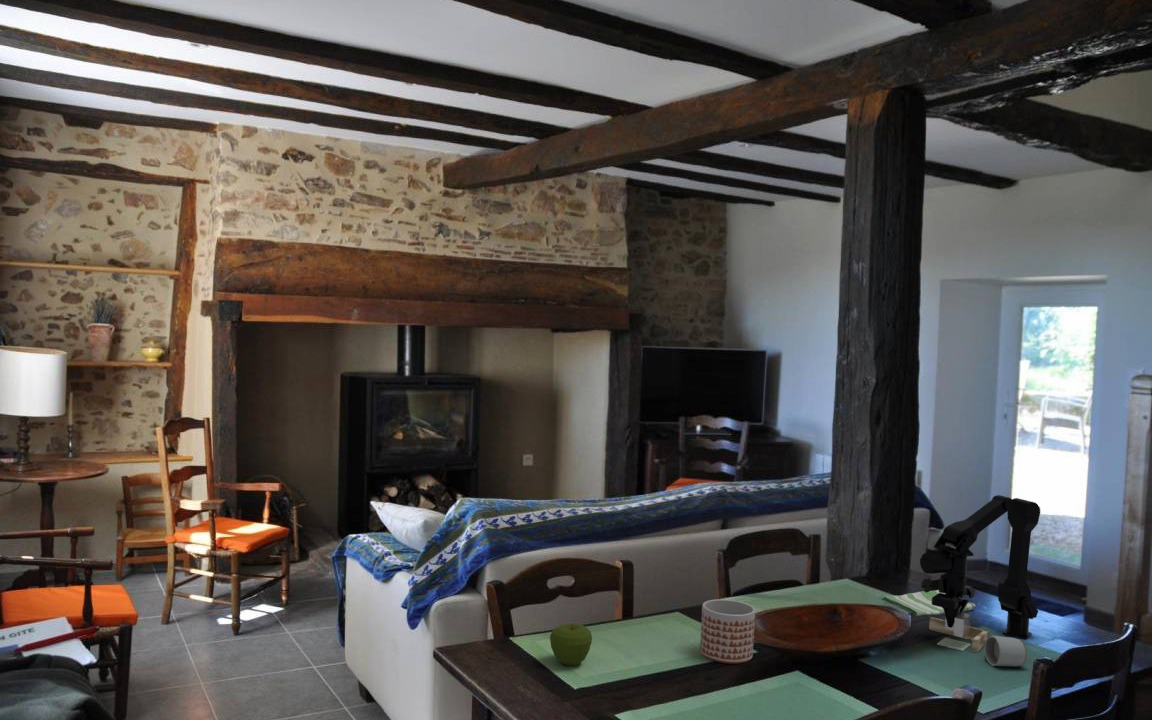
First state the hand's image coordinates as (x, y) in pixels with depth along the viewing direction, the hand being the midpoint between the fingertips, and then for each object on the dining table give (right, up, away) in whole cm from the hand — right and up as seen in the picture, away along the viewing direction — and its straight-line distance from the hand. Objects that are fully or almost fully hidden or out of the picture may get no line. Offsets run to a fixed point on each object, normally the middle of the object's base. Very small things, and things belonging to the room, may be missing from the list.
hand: (951, 625), depth 257 cm
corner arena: (+1, -5, +2) cm, 5 cm away
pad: (0, -5, -2) cm, 5 cm away
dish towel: (+7, -4, +35) cm, 36 cm away
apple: (-108, -1, -30) cm, 112 cm away
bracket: (0, -1, -2) cm, 3 cm away
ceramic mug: (+7, -6, -15) cm, 17 cm away
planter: (-67, -2, -18) cm, 69 cm away
